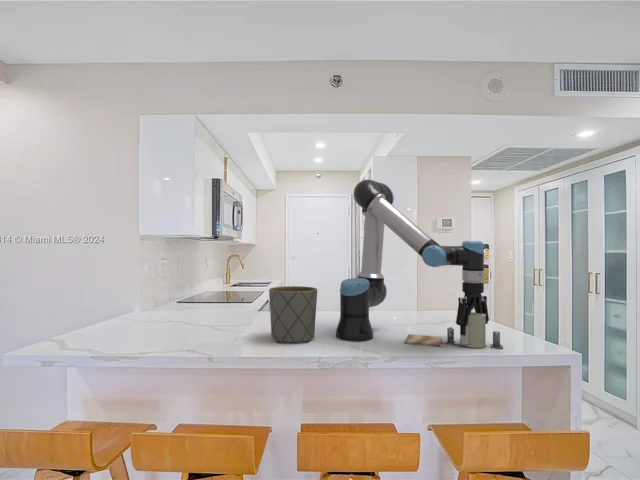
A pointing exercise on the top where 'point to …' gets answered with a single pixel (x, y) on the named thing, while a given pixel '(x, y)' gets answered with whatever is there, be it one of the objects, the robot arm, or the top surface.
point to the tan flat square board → (423, 340)
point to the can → (476, 330)
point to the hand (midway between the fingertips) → (472, 342)
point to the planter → (293, 313)
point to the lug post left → (450, 336)
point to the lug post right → (496, 341)
